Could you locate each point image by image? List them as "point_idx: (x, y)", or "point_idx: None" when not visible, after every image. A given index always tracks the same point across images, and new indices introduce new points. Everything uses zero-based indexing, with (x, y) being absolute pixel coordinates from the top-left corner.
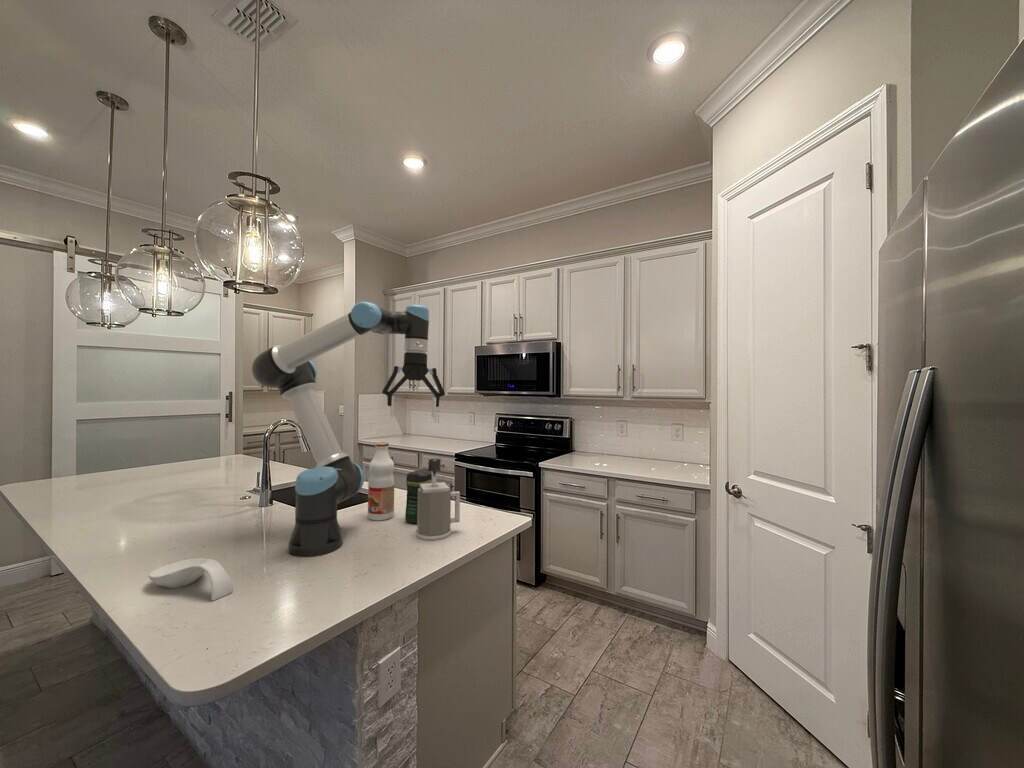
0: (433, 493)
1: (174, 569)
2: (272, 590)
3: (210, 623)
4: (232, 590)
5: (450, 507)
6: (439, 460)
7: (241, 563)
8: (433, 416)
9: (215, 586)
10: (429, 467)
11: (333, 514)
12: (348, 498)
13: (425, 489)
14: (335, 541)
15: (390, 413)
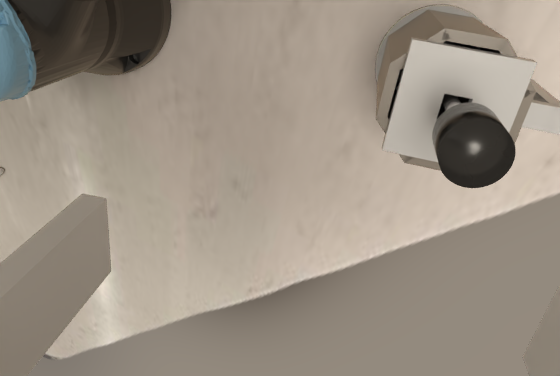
0: (417, 164)
1: None
2: (63, 194)
3: (12, 247)
4: (2, 172)
5: None
6: (491, 182)
7: None
8: (527, 362)
9: None
10: (434, 146)
11: (100, 55)
12: None
13: (392, 149)
14: (144, 59)
15: (67, 213)
